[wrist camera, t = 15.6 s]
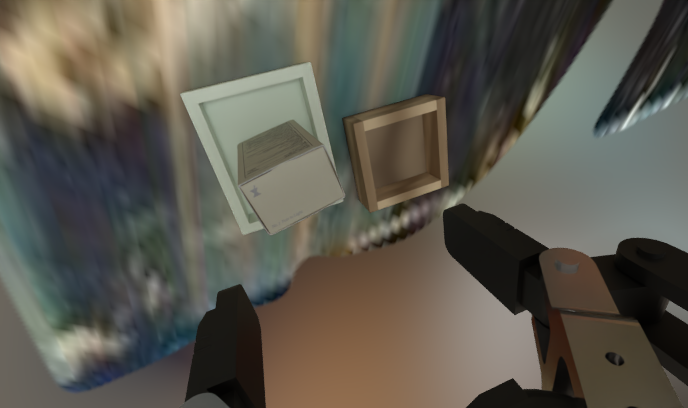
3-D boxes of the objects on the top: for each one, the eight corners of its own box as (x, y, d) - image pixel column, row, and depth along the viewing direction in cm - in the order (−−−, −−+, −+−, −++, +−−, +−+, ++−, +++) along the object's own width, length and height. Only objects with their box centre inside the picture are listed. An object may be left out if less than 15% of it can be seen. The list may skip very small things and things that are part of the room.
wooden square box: (425, 94, 33) (445, 97, 30) (431, 175, 38) (448, 185, 35) (342, 118, 32) (353, 124, 29) (359, 200, 36) (370, 212, 33)
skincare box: (257, 180, 31) (266, 240, 21) (235, 142, 29) (232, 186, 18) (312, 154, 32) (348, 199, 21) (294, 114, 30) (325, 143, 19)
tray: (304, 62, 28) (310, 62, 26) (336, 191, 35) (343, 201, 33) (185, 91, 26) (180, 94, 24) (242, 222, 33) (243, 235, 31)
